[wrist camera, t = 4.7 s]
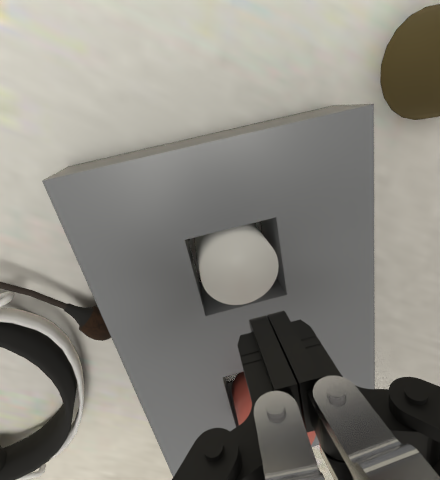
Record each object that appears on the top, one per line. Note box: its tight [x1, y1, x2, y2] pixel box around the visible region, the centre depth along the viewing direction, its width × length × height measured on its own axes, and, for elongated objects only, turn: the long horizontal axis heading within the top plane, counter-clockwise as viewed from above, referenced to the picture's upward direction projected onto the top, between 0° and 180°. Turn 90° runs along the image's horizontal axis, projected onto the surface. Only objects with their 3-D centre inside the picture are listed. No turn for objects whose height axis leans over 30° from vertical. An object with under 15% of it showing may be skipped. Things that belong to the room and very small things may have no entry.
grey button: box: [195, 223, 279, 305], centre depth 19 cm, size 4×4×4 cm
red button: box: [232, 372, 316, 445], centre depth 20 cm, size 4×4×4 cm
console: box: [43, 104, 375, 477], centre depth 21 cm, size 16×24×4 cm, turn 12°
